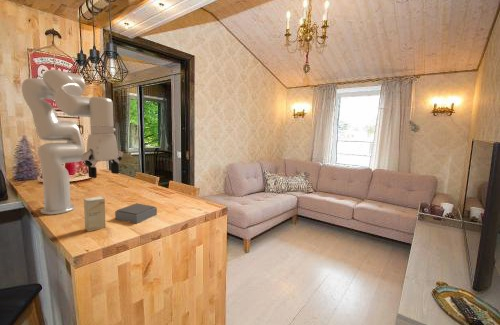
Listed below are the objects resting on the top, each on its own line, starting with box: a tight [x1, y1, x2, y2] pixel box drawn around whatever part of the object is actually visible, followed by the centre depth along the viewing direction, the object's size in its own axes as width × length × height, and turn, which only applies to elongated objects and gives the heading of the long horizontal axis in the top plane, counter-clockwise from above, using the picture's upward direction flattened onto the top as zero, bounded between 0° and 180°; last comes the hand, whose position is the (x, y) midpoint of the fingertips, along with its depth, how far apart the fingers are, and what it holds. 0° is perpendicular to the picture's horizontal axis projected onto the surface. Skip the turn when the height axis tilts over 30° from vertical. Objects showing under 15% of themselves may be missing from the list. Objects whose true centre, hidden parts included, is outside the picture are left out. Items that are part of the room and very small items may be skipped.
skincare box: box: [83, 195, 106, 232], centre depth 94 cm, size 6×4×12 cm
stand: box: [114, 202, 158, 225], centre depth 108 cm, size 12×12×4 cm
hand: (104, 175), depth 92 cm, fingers open, 9 cm apart
